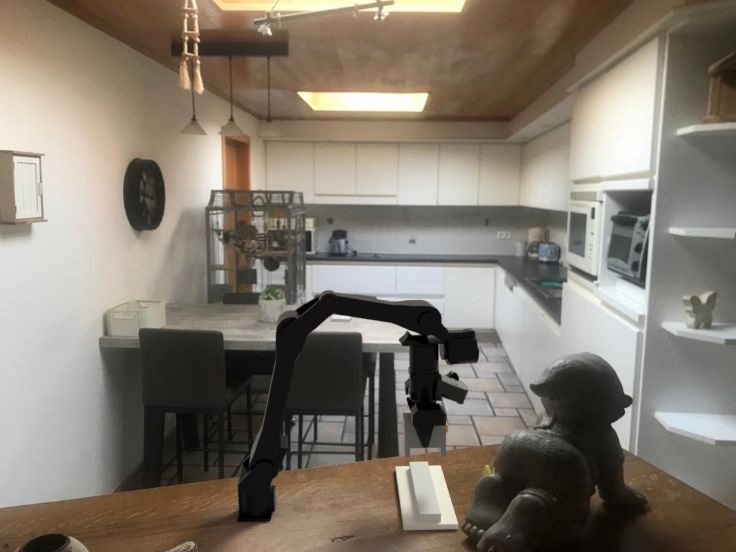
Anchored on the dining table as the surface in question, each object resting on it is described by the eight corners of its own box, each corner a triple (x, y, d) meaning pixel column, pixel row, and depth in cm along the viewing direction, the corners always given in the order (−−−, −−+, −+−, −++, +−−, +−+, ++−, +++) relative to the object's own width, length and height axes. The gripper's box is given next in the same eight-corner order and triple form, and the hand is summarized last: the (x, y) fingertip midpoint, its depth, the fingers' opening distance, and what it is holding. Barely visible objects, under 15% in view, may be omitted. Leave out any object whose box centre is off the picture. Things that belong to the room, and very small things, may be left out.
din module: (405, 457, 110) (404, 423, 109) (403, 445, 115) (402, 412, 114) (449, 456, 110) (449, 422, 109) (445, 444, 115) (445, 412, 114)
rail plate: (403, 530, 103) (403, 517, 102) (395, 470, 125) (395, 460, 124) (458, 529, 103) (458, 516, 103) (440, 469, 125) (440, 459, 124)
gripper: (475, 381, 100) (473, 463, 103) (456, 351, 119) (456, 421, 121) (412, 382, 100) (412, 464, 103) (404, 352, 119) (404, 422, 121)
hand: (423, 441), depth 112 cm, fingers closed on din module, 5 cm apart
